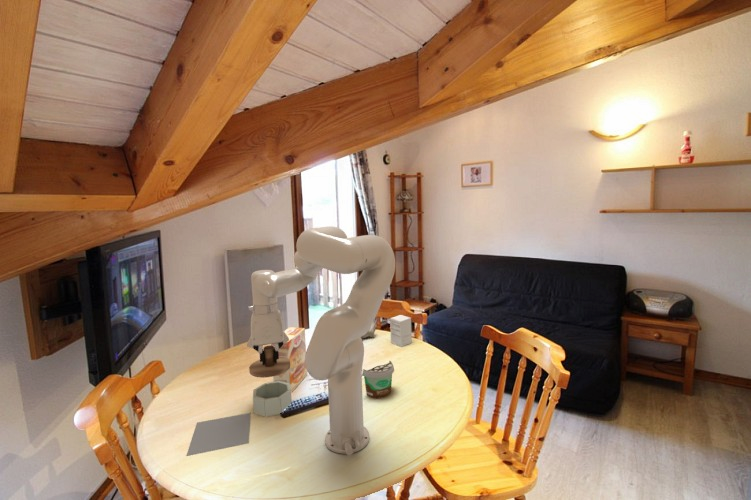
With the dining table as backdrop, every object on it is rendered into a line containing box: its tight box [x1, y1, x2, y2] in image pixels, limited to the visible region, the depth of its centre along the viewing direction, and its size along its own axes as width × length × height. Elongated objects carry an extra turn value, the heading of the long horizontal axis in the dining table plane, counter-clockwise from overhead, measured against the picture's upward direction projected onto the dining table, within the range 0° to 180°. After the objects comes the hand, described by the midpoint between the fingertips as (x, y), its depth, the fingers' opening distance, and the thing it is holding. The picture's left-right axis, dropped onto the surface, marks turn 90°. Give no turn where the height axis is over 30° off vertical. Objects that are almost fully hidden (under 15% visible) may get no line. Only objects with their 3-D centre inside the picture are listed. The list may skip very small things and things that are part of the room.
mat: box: [185, 412, 252, 457], centre depth 108 cm, size 16×16×1 cm
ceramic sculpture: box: [361, 321, 376, 340], centre depth 182 cm, size 11×9×15 cm
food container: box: [362, 360, 395, 399], centre depth 127 cm, size 12×6×10 cm, turn 123°
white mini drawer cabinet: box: [389, 314, 413, 348], centre depth 173 cm, size 7×7×13 cm
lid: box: [248, 345, 290, 378], centre depth 119 cm, size 13×13×7 cm
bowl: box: [252, 381, 293, 418], centre depth 121 cm, size 12×12×6 cm
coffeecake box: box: [270, 326, 308, 393], centre depth 137 cm, size 15×7×20 cm, turn 167°
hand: (269, 361), depth 119 cm, fingers closed on lid, 3 cm apart
